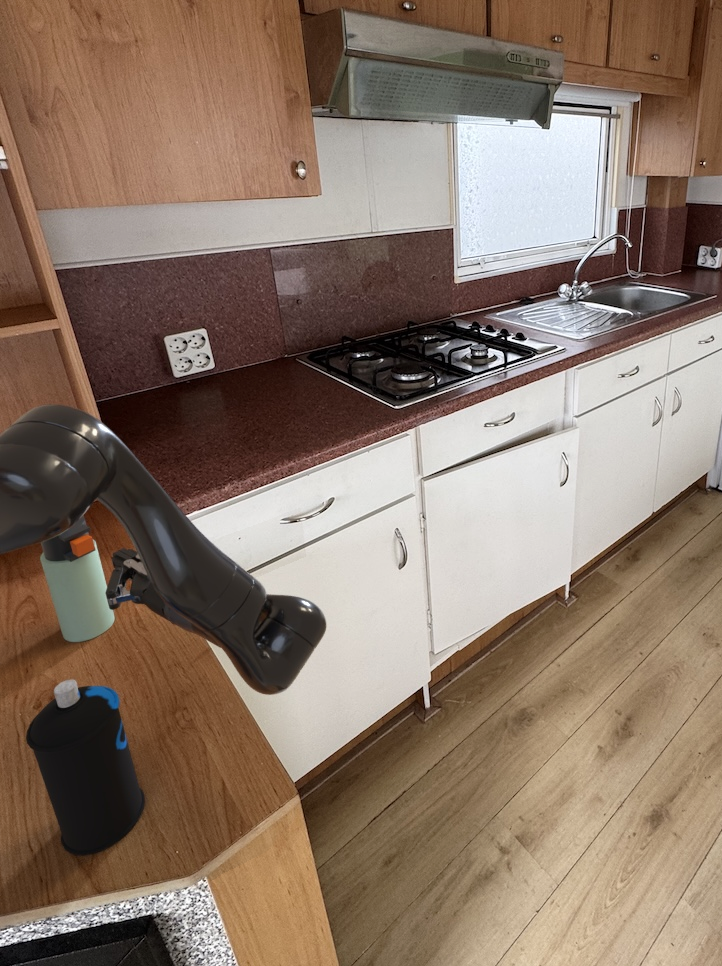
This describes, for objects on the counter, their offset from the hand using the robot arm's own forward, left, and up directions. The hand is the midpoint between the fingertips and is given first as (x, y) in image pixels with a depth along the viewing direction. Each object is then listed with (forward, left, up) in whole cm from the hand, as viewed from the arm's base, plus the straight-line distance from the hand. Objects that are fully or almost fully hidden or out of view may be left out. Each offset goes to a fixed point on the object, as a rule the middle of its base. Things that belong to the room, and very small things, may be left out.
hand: (118, 556), depth 83 cm
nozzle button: (-7, +8, -3) cm, 11 cm away
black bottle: (0, -25, -20) cm, 32 cm away
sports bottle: (-10, +12, -19) cm, 25 cm away
